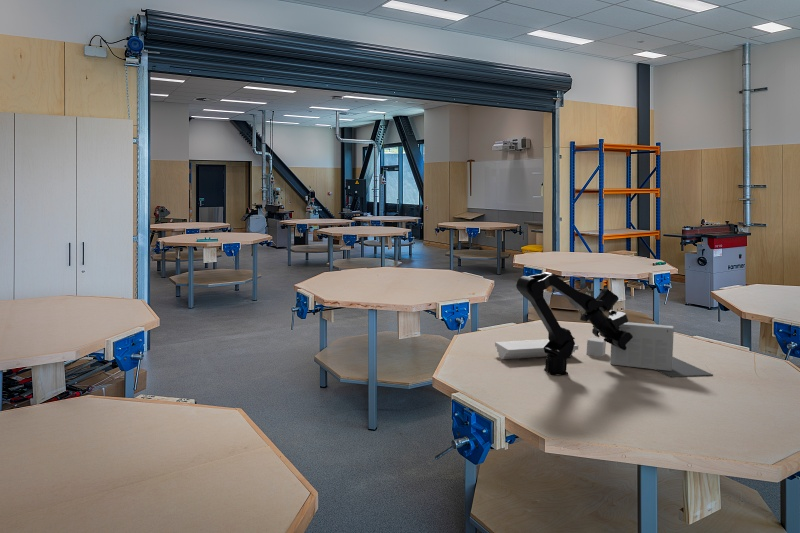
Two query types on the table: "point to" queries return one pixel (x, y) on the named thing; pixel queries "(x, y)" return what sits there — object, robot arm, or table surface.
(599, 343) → the white cube
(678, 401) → the table surface
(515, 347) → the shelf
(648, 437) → the table surface
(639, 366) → the skincare box
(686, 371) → the rubber mat
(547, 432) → the table surface
